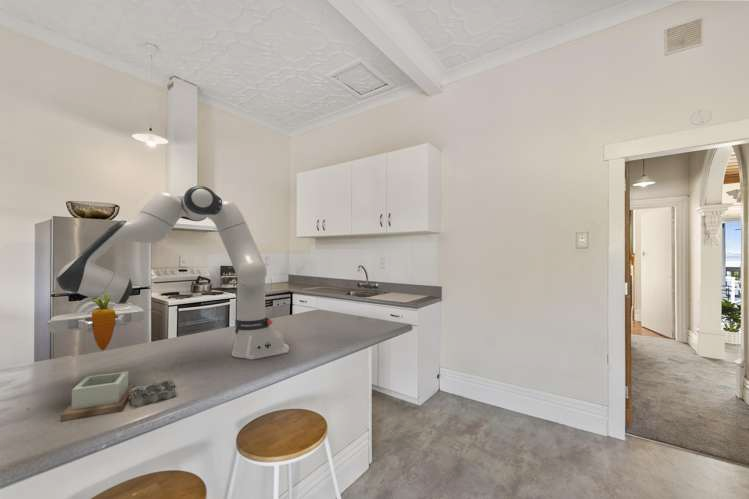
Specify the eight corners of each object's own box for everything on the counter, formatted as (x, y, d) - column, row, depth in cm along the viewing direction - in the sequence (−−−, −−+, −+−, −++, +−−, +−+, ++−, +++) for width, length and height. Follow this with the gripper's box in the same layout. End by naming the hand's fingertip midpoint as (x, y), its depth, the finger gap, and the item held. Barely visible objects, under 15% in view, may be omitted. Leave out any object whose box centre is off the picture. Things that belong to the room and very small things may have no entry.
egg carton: (130, 410, 83) (130, 394, 83) (128, 399, 89) (128, 385, 89) (177, 398, 90) (177, 383, 90) (172, 389, 96) (172, 375, 96)
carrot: (99, 354, 83) (100, 297, 83) (85, 352, 84) (87, 296, 84) (119, 348, 88) (120, 294, 88) (106, 346, 89) (107, 293, 89)
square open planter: (127, 388, 92) (128, 371, 92) (118, 402, 84) (118, 383, 84) (86, 394, 88) (86, 376, 88) (71, 409, 80) (72, 389, 80)
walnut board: (135, 389, 95) (135, 384, 95) (121, 411, 82) (122, 405, 82) (83, 397, 89) (83, 391, 90) (60, 421, 77) (60, 415, 77)
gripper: (46, 310, 87) (49, 317, 78) (137, 301, 102) (149, 307, 93) (46, 333, 87) (48, 343, 78) (137, 321, 102) (148, 329, 93)
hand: (104, 323), depth 85 cm, fingers closed on carrot, 5 cm apart
